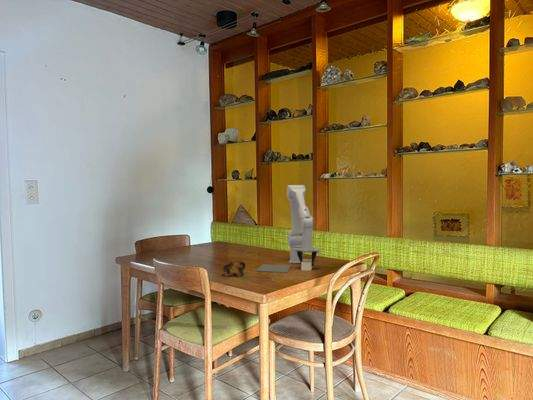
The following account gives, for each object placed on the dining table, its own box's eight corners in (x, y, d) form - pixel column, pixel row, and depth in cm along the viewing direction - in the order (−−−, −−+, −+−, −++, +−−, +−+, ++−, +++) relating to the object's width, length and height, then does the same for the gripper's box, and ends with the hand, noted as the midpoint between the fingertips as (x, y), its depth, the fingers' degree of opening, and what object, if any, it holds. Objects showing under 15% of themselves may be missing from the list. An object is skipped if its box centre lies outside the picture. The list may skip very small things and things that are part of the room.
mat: (262, 264, 223) (262, 264, 223) (291, 266, 220) (291, 265, 220) (255, 271, 208) (255, 270, 208) (286, 272, 204) (286, 272, 204)
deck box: (303, 266, 219) (303, 259, 219) (312, 266, 218) (312, 259, 218) (301, 270, 210) (301, 262, 210) (310, 270, 209) (310, 262, 209)
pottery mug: (234, 279, 193) (226, 264, 194) (225, 284, 200) (217, 269, 201) (252, 269, 201) (244, 254, 202) (243, 274, 208) (235, 260, 209)
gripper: (292, 241, 211) (292, 266, 212) (320, 242, 208) (320, 268, 208) (294, 239, 218) (294, 264, 218) (321, 240, 215) (321, 265, 215)
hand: (307, 265), depth 214 cm, fingers closed on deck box, 5 cm apart
